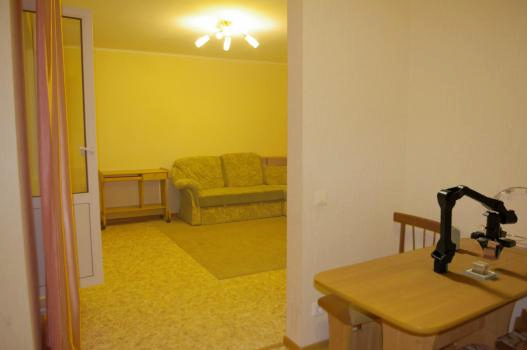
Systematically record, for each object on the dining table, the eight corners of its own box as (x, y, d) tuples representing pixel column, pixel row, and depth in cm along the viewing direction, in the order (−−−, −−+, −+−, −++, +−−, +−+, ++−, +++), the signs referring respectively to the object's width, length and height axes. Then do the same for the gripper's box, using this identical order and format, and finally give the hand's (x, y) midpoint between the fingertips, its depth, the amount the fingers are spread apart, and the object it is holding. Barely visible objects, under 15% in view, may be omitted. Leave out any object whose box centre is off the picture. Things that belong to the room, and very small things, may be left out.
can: (462, 250, 213) (463, 229, 211) (448, 251, 213) (449, 230, 211) (455, 246, 220) (456, 226, 218) (442, 246, 220) (443, 226, 219)
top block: (493, 261, 182) (494, 251, 182) (483, 258, 187) (483, 248, 186) (499, 259, 185) (500, 249, 184) (489, 256, 189) (489, 246, 189)
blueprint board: (485, 283, 171) (485, 279, 170) (460, 274, 181) (460, 270, 181) (500, 277, 177) (500, 273, 176) (475, 269, 187) (475, 265, 187)
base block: (482, 276, 175) (483, 266, 175) (471, 273, 180) (472, 262, 179) (488, 274, 178) (489, 264, 177) (478, 270, 182) (478, 260, 181)
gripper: (523, 226, 180) (521, 258, 182) (483, 218, 196) (481, 248, 198) (510, 230, 174) (508, 263, 176) (470, 221, 190) (468, 252, 192)
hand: (491, 256), depth 186 cm, fingers closed on top block, 5 cm apart
